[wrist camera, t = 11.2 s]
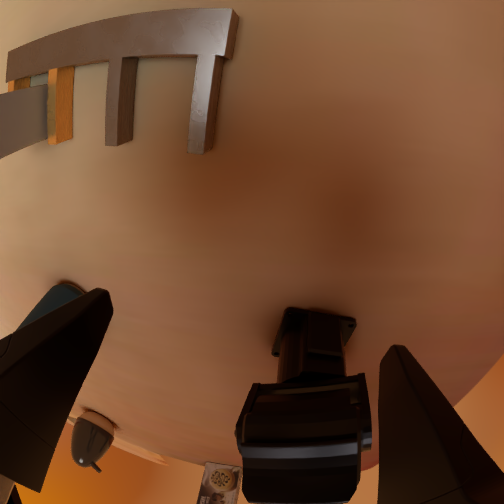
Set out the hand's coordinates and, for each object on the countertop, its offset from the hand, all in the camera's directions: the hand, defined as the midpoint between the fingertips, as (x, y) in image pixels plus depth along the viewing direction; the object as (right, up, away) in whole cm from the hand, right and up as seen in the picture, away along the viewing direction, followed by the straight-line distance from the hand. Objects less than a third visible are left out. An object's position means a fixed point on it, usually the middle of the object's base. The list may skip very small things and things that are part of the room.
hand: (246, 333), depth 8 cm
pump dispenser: (-36, -38, +45) cm, 69 cm away
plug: (-17, +14, +9) cm, 24 cm away
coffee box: (-7, -53, +50) cm, 73 cm away
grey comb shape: (-11, +14, +8) cm, 20 cm away
